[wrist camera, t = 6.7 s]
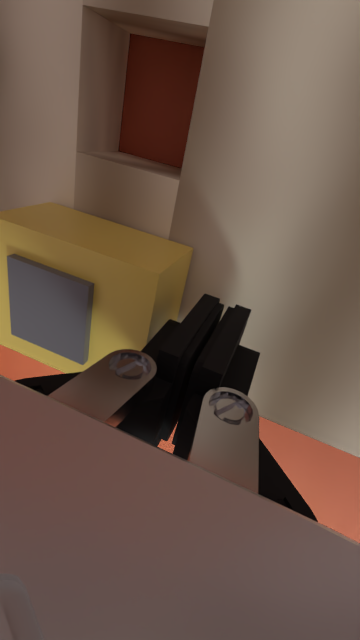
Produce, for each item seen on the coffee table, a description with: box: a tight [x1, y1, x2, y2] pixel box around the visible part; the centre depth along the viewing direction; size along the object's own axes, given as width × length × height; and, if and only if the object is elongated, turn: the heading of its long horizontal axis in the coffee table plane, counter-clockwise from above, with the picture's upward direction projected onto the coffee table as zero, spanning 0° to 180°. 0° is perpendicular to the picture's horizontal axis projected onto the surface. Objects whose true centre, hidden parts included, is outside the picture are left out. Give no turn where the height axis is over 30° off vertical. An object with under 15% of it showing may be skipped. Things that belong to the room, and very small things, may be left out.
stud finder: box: [0, 202, 194, 374], centre depth 13 cm, size 6×5×3 cm
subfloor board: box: [0, 0, 360, 458], centre depth 13 cm, size 25×17×3 cm
